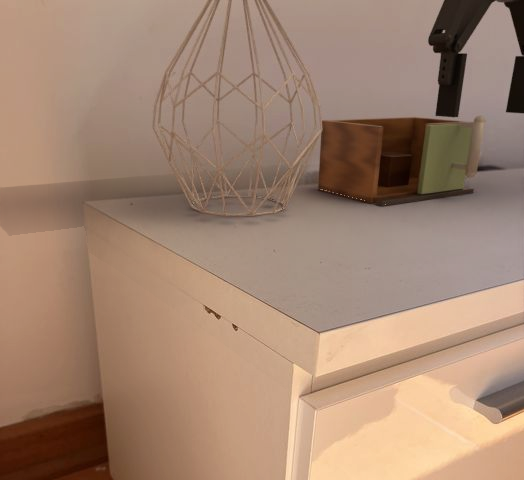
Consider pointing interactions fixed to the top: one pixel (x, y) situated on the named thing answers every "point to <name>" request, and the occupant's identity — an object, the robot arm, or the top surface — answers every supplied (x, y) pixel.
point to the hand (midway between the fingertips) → (483, 115)
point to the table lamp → (193, 157)
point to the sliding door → (450, 155)
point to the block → (394, 169)
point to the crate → (374, 158)
